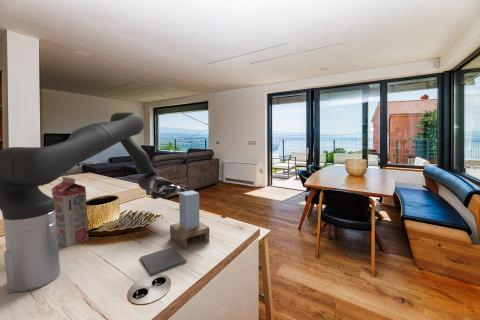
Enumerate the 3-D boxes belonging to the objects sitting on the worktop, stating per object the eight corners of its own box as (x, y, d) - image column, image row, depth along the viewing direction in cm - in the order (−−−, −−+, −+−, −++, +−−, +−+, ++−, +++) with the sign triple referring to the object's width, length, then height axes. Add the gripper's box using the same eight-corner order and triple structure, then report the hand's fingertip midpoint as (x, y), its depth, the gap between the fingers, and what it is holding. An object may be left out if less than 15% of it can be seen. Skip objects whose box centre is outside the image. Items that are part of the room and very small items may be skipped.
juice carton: (77, 234, 80) (73, 175, 78) (88, 238, 77) (84, 177, 75) (55, 242, 74) (50, 178, 72) (67, 247, 71) (62, 180, 69)
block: (186, 230, 73) (185, 195, 72) (179, 225, 77) (179, 192, 76) (199, 226, 77) (199, 193, 75) (192, 222, 80) (192, 190, 79)
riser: (182, 250, 71) (182, 235, 70) (170, 238, 78) (170, 225, 78) (209, 241, 77) (209, 227, 76) (195, 231, 85) (195, 218, 84)
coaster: (151, 275, 58) (150, 273, 57) (140, 258, 65) (140, 256, 65) (186, 262, 64) (186, 260, 64) (172, 248, 72) (172, 246, 71)
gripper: (144, 180, 92) (157, 187, 80) (176, 176, 101) (193, 182, 89) (144, 197, 93) (158, 207, 81) (176, 192, 102) (193, 200, 90)
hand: (176, 194), depth 85 cm, fingers open, 8 cm apart
